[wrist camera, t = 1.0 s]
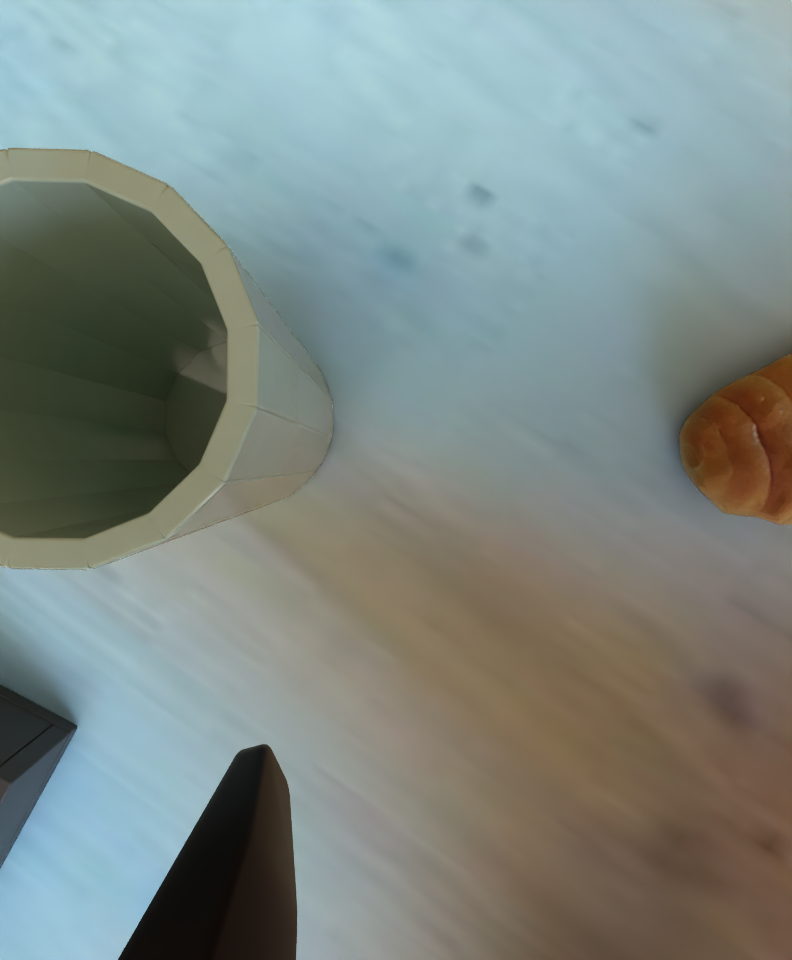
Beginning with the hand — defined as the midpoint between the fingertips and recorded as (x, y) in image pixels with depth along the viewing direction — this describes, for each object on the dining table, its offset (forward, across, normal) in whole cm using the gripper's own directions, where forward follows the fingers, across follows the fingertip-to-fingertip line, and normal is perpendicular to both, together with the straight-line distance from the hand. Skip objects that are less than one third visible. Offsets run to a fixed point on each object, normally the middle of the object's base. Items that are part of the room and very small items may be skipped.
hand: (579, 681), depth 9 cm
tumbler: (+15, +6, 0) cm, 17 cm away
